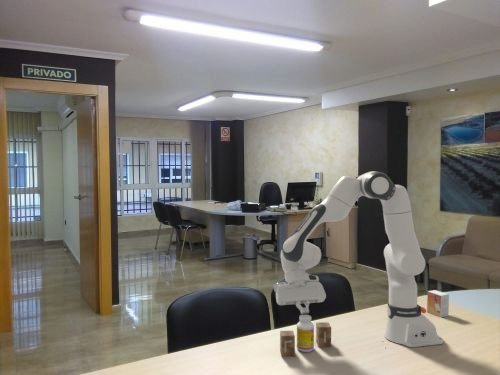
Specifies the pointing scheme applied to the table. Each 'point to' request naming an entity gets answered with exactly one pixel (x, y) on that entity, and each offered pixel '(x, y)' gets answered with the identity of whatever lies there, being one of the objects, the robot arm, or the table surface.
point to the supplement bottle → (305, 334)
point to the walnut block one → (323, 334)
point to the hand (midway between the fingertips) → (305, 312)
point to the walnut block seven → (287, 344)
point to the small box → (438, 303)
